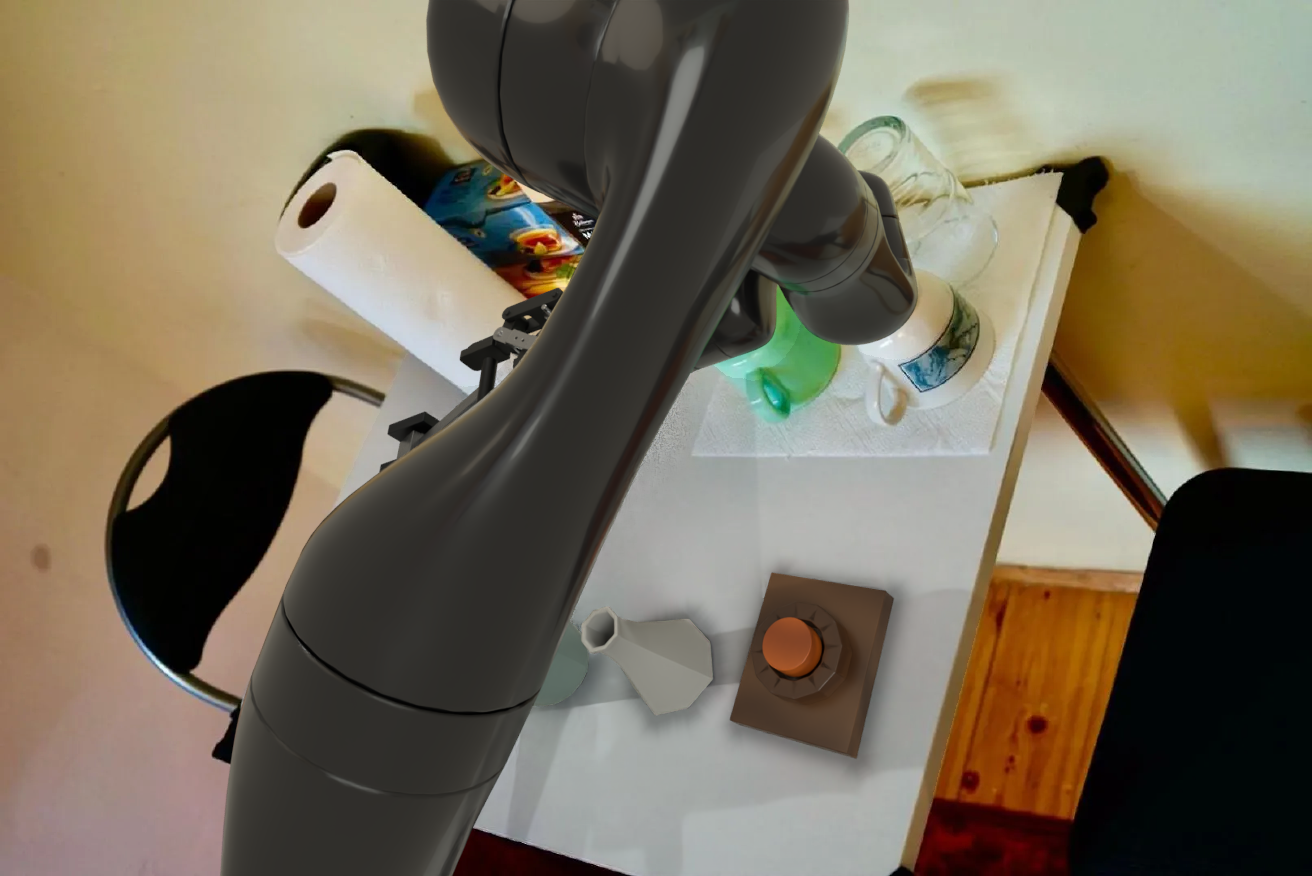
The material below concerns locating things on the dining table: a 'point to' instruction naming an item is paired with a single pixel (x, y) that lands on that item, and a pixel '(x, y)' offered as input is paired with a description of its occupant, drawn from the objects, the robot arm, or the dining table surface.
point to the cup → (565, 669)
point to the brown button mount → (842, 680)
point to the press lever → (484, 388)
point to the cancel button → (792, 647)
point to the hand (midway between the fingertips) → (459, 404)
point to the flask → (653, 656)
